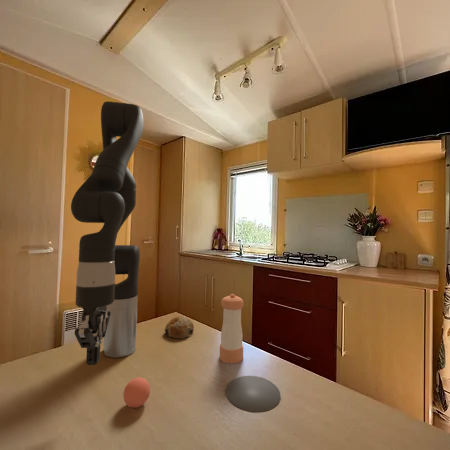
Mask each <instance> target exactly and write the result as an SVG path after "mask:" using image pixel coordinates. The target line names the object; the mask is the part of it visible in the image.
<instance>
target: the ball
mask: <svg viewBox="0 0 450 450" xmlns="http://www.w3.org/2000/svg"><path fill="white" fill-rule="evenodd" d="M150 393H151V386H150V383H149V382H148V380H146V379H145V378H144V377H135V378H132V379H130V380H129V381H128V383H127V384H126V385H125V387H124V389H123V399H124V400H123V401H124V403H125V404H126V405H127V406H128V407H129V408H132V409H133V408H135V409H136V408H140V407H141V406H143V405H144V404H145V403H146V402H147V401H148V399H149V397H150V395H151V394H150Z"/></svg>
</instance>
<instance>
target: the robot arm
mask: <svg viewBox="0 0 450 450" xmlns="http://www.w3.org/2000/svg"><path fill="white" fill-rule="evenodd" d="M144 123H145V122H144V113H143V110H142V108H141V107H140V106H139V105H137V104H134V103H133V104H132V103H125V102H118V101H105V102H104V101H103V103H102V106H101V109H100V126H101V127H100V128H101V138H102V139H101V141H102V151H101V152H100V153H99V154H98V155H97V158H96V161H95V162H94V163H95V164H94V165H93V166H94V167H93V169H92V171H91V174H90V175H89V177H87V179H85V181H84V182H83V183H82V184H81V186H80V187H79V188H78V189H77V190H76V192H75V193H74V195H73V197H72V199H71V202H70V210H71V211H70V212H71V214H72V216H73V217H74V219H75V220H76V221H78V222H80V223H84V224H85V223H87V224H88V223H89V224H103V225H102V227H101V229H100V230H99V231H97V232H92V233H87V234H84V235H81V237H80V238H79V243H78V244H79V249H78V265H77V269H76V270H77V271H76V284H75V286H76V287H75V288H76V289H75V306H76V307H78V308H81V309H82V314H81V318H80V319H81V321H80V322H81V326H80V327H77V328H75V330H74V336H75V338H76V340H77V342H78V344H79V346H80V348H81V349H86V356H85V357H86V361H85V363H86V365H87V366H95V365H97V364H98V363H99V362H100V359H101V344H102V343H103V352H104V355H105V357H108V358H122V357H127V356H130V355H131V354H133V353H135V351H136V350H137V331H138V329H137V327H138V326H137V324H138V302H139V301H138V297H139V296H138V294H139V293H138V292H139V291H138V289H139V288H138V285H139V271H140V259H141V258H140V257H141V256H140V255H141V254H140V249H139V247H138V246H137V245H135V244H132V245H131V244H125V245H124V244H121V245H120V244H116V241H117V237H118V233H119V231H120V229H121V228H122V226H123V225H124V224H125V222H126V221H127V219H128V218H129V216H130V215H131V213H132V212H133V211H134V209H135V208H136V204H137V183H136V180H135V177H134V176H133V174H132V172H131V171H130V169H129V167H128V165H129V162H130V159H131V158H132V156H133V154H134V152H135V150H136V148H137V146H138V144H139V142H140V139H141V137H142V135H143V131H144V126H145V125H144ZM117 137H119V138H117ZM116 275H127V278H125V279H124V280H122V281H120V282H118V283H116Z"/></svg>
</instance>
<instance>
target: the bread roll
mask: <svg viewBox="0 0 450 450" xmlns="http://www.w3.org/2000/svg"><path fill="white" fill-rule="evenodd" d="M194 328H195V327H194V323H193V321H192V320H191V319H190V318H188V317H187V316H182V315H180V316H175V317H173V318H172V319H170V320H169V321H168V322H167V323H166V326H165V327H164V333H166V336H167V335H168V336H167V337H168V338H171V337H172V338H171V339H174V338H176V339H178V338H181V339H186V338H185V337H187V338H190V337H192V335H191V334H193V333H194ZM189 336H190V337H189Z"/></svg>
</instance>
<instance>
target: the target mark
mask: <svg viewBox="0 0 450 450" xmlns="http://www.w3.org/2000/svg"><path fill="white" fill-rule="evenodd" d="M225 396H226V397H227V399H228V401H229V402H230V403H231V404H232V405H234V406H235V407H237V408H239V409H241V410H244V411H247V412H253V413H254V412H255V413H256V412H258V413H259V412H266V411H269V410H272V409H273V408H275V407H276V406H277V405H279V403H280V400H281V391H280V389H279V387H278V386H277V385H276V384H274V383H273V382H272V381H270V380H268V379H267V378H263V377H261V376H256V375H241V376H238V377H236V378H235V377H234V378H233V379H232V380H230V381H229V382H228V383H227V384H226V387H225Z"/></svg>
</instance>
